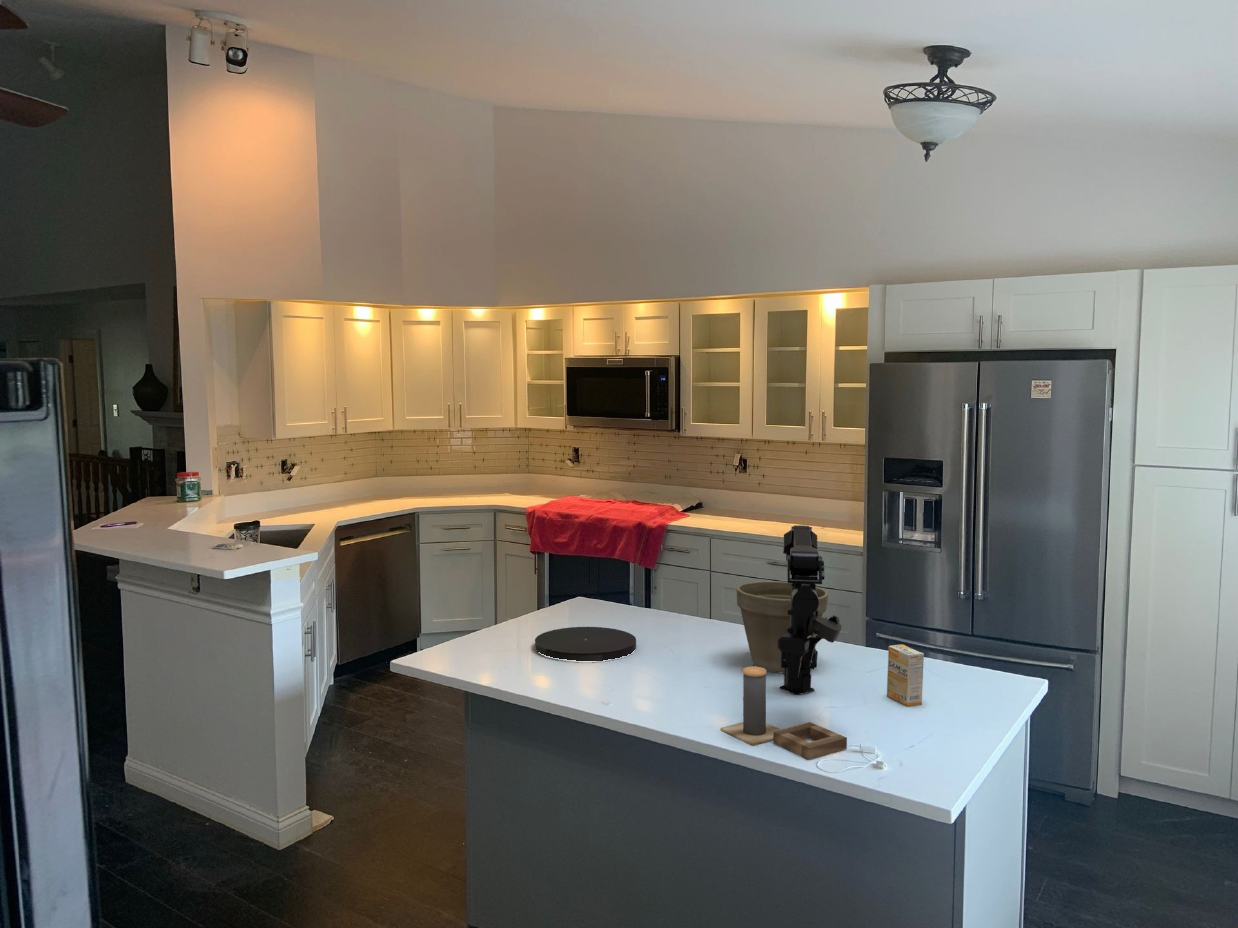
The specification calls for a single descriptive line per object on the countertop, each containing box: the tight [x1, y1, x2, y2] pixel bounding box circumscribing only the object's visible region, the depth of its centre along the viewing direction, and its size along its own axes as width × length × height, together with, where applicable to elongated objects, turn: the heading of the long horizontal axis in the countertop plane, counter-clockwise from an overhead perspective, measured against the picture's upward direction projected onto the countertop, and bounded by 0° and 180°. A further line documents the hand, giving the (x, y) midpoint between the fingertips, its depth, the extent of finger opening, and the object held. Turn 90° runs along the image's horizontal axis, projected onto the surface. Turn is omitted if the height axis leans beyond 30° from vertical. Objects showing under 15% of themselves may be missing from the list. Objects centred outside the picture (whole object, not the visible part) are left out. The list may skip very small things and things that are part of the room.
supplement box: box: [886, 644, 925, 707], centre depth 230 cm, size 8×5×13 cm, turn 21°
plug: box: [742, 666, 767, 736], centre depth 207 cm, size 5×5×14 cm
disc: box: [534, 626, 637, 661], centre depth 276 cm, size 30×30×3 cm
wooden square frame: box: [772, 721, 848, 761], centre depth 201 cm, size 11×11×2 cm
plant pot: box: [736, 580, 829, 674], centre depth 259 cm, size 25×25×22 cm
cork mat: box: [719, 722, 781, 747], centre depth 208 cm, size 11×11×1 cm
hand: (801, 672), depth 214 cm, fingers open, 9 cm apart
